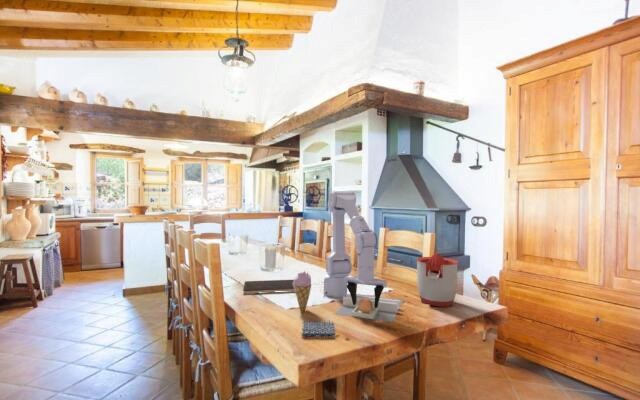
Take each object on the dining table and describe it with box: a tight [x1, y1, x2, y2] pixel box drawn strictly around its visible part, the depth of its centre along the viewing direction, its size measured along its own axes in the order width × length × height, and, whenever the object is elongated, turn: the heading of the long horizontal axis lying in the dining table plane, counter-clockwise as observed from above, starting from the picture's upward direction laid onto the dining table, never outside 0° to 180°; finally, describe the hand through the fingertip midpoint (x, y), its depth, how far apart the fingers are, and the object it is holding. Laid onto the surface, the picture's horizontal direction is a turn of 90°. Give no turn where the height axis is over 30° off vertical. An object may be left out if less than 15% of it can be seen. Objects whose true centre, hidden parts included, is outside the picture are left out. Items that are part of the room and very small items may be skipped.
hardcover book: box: [242, 279, 295, 295], centre depth 147 cm, size 16×23×2 cm
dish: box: [351, 306, 378, 320], centre depth 112 cm, size 7×7×1 cm
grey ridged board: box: [334, 293, 405, 323], centre depth 120 cm, size 20×26×4 cm
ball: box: [358, 298, 373, 313], centre depth 112 cm, size 5×5×5 cm
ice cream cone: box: [292, 270, 312, 314], centre depth 116 cm, size 7×6×15 cm
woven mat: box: [300, 320, 337, 339], centre depth 99 cm, size 10×11×2 cm
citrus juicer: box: [416, 252, 459, 308], centre depth 128 cm, size 16×17×20 cm
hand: (365, 305), depth 112 cm, fingers open, 7 cm apart
